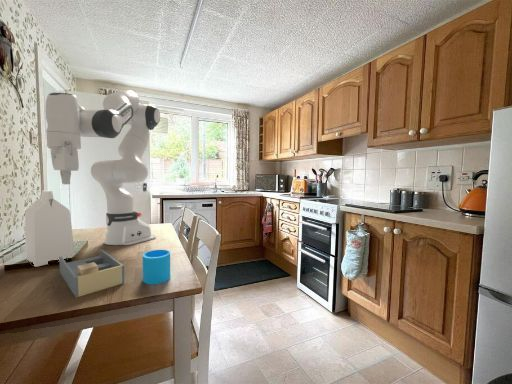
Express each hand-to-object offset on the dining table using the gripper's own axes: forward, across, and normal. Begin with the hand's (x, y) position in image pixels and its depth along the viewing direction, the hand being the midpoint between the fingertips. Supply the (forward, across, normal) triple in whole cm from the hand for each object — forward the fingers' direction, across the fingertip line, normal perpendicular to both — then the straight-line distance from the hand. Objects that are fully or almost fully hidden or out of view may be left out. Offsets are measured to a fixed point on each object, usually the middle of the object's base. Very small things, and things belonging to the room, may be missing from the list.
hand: (66, 184), depth 80 cm
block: (+26, -22, 0) cm, 34 cm away
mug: (+29, -27, -18) cm, 44 cm away
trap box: (+29, -14, -3) cm, 32 cm away
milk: (+29, +16, +3) cm, 34 cm away
